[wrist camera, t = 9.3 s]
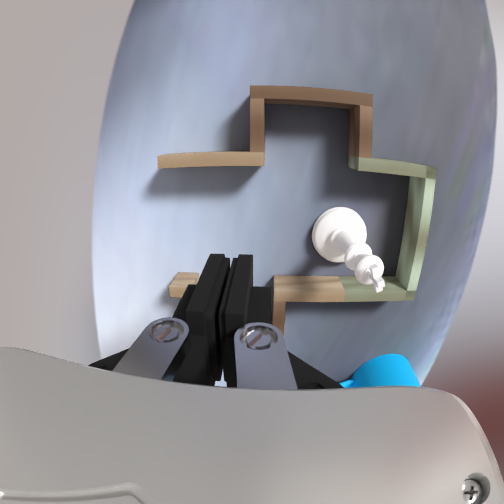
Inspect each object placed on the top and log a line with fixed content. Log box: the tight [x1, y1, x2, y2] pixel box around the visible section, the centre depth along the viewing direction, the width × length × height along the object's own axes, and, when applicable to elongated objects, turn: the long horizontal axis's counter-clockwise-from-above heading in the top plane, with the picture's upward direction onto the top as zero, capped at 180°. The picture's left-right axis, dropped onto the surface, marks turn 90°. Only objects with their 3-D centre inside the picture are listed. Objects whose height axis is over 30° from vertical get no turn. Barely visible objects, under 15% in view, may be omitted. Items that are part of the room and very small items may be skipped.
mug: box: [339, 354, 421, 388], centre depth 27 cm, size 12×8×8 cm
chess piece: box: [312, 207, 385, 293], centre depth 20 cm, size 5×5×10 cm
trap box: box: [157, 86, 436, 336], centre depth 23 cm, size 22×22×3 cm
